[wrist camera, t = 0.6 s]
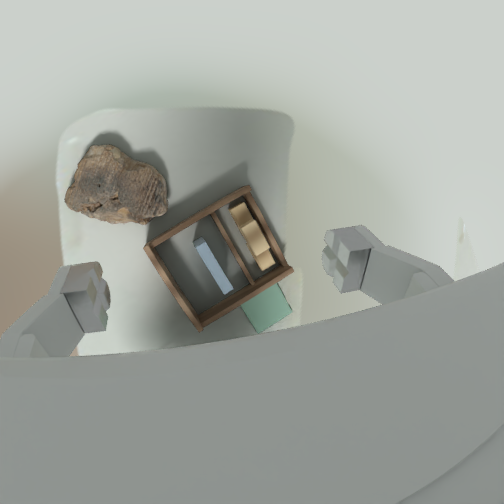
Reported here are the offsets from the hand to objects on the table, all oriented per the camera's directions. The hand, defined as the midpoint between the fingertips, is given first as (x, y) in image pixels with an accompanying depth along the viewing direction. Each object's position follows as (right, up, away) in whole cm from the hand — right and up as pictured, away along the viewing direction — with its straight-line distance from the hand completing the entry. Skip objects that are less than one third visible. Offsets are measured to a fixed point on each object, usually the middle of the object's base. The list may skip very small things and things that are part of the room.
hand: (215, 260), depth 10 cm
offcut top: (+1, +3, +47) cm, 47 cm away
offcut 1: (-1, +7, +48) cm, 49 cm away
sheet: (-7, -1, +48) cm, 48 cm away
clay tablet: (-24, +12, +41) cm, 49 cm away
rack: (-5, 0, +48) cm, 48 cm away
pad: (+4, -11, +52) cm, 54 cm away
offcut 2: (+3, 0, +50) cm, 50 cm away
